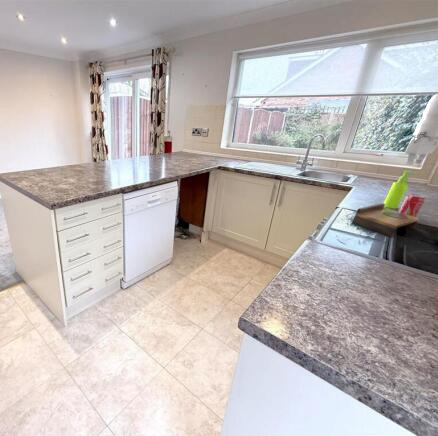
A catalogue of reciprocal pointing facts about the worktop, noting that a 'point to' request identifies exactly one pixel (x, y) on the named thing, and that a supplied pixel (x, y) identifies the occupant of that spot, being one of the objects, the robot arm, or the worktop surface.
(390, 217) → the shelf
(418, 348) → the worktop surface
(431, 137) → the robot arm
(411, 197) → the beverage can
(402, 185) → the soap dispenser
